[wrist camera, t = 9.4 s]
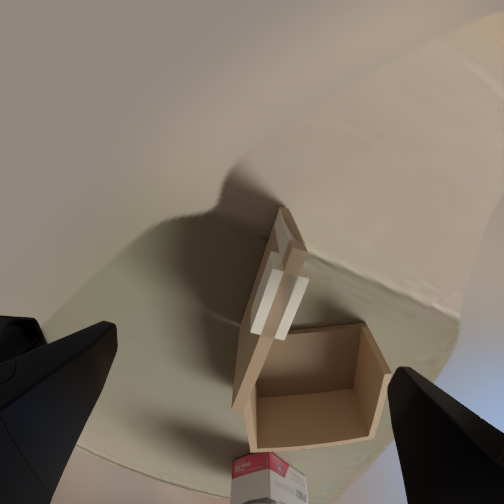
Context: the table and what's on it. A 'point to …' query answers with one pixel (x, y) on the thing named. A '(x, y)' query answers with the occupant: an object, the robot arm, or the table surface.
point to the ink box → (266, 481)
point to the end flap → (270, 303)
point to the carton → (318, 390)
